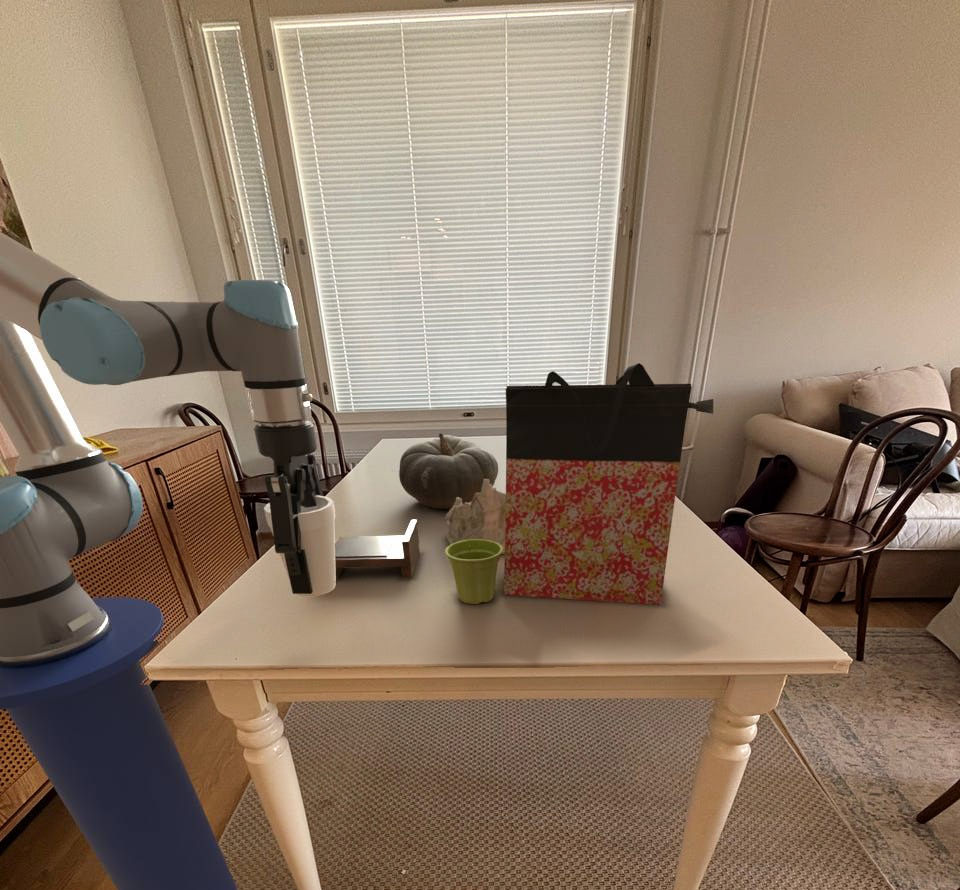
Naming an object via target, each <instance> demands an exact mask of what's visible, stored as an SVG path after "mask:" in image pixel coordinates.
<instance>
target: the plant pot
mask: <svg viewBox="0 0 960 890" xmlns="http://www.w3.org/2000/svg"><path fill="white" fill-rule="evenodd" d="M502 551H503V548H502V546H501V545H500V544H499V543H496V542H494V541H490V540H483V539H471V540H464V541H459V542H456V543H453V544H449V545H448V546H447V547H446V548H445V551H444V553H445V556H446V557H447V558H448V561H449V564H450V565H451V568H452V573H453V574H452V575H453V578H454V582H455V587H456V592H457V593H456V594H457V597H458V598H459V600H460V602H463V603H465V604H471V605H478V604H480V603H488V602H490V601H492V600H493V599H494V597H495V591H496V581H497V574H498V573H497V572H498V565H499V561H500V556H501V555H502V554H501V553H502Z"/></svg>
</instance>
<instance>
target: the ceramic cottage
mask: <svg viewBox="0 0 960 890" xmlns="http://www.w3.org/2000/svg"><path fill="white" fill-rule="evenodd" d="M505 517H506V492H501V491H499V490H497V487H494V485H493V486H492V484H490V480H489V479H484V480H483V485H482V489H481V492H479V493H475V495H474V497H473V500H472V502H470V503H467V502H465V503H464V505H463V503H462V499H461V498H459V497H457V498H456V502H455V503H454V505H453V506H452V508H451V509H448V512H447V513H446V515H445V520H447V525H448V533H447V537H446V540H447V542H448V544H449V545H451V544H453V543H456V542H459V541H464V540H471V539H483V540H490V541H494V542H496V543H499V544H500V545H501V546H502V548H503V551H502V553H501V554H500V555H505Z"/></svg>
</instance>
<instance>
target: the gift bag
mask: <svg viewBox="0 0 960 890" xmlns="http://www.w3.org/2000/svg"><path fill="white" fill-rule="evenodd" d="M650 376H651V375H649V373H648V372H647V370H646V368H645V367H644V365H643V364H641V363H640V362H638V363H635V364H633V365H630V366H628V367H627V368H626V370H625V371H624V372H623V374H622V376H620V377H619V378H618V380H617V381H616V383H615V384H569V383H568V382H567V381H566V380H565V379H564V378H563V377H562V376H561V375H560V374H558V373H557V372H555V371H550V372H548V374H547V376H546V380H545V383H544V385H506V387H505V415H506V416H505V418H506V419H505V420H506V422H505V423H506V424H505V426H506V428H505V429H506V433H505V436H506V437H505V439H506V440H505V494H506V517H505V554H504V567H503V568H504V569H503V571H504V573H503V596H514V597H515V596H516V597H527V598H528V597H531V598H544V599H545V598H546V599H558V600H559V599H561V600H574V601H575V600H576V601H577V600H578V601H592V602H607V603H623V604H640V605H654V606H655V605H656V606H661V605H662V598H663V591H664V585H665V584H664V583H665V575H666V569H667V568H666V566H667V560H668V552H669V545H670V544H669V543H670V537H671V529H672V523H673V515H674V508H675V502H676V494H677V487H678V480H679V473H680V466H681V460H682V459H681V458H682V451H683V444H684V437H685V430H686V423H687V418H688V412H689V409H692V410H695V411H696V412H699V413H706V414H713V415H714V398H712V399H711V398H709V399H705V400H699V401H696V402H690V400H691V395H692V388H693V386H692V383H655V382H654V381H653V380H652V378H651V377H650ZM555 383H556V384H555ZM557 384H558V385H557Z"/></svg>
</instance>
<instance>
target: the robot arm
mask: <svg viewBox="0 0 960 890" xmlns="http://www.w3.org/2000/svg"><path fill="white" fill-rule="evenodd" d="M290 291H291V290H290V289H289V287H288V286H287V285H286V284H285V283H284V282H282V281H279V280H268V279H236V280H227V281H226V282H225V283H224V284H223V296H224V297H223V300H222V301H215V302H214V301H213V302H209V301H144V300H120V299H116V298H114V297H112V296H110V295H108V294H106V293H105V292H103V291H101V290H100V289H98V288H96V287H94V286H92V285H91V284H89V283H87V282H86V281H83V280H82V279H81V278H79V277H77V276H76V275H74V274H72V273H71V272H69V271H68V270H66V269H64V268H62V267H61V266H58V265H57V264H56V263H54V262H52V261H50V260H49V259H47V258H45V257H43V256H42V255H40V254H39V253H37V252H36V251H33V250H32V249H30V248H28V247H27V246H25V245H24V244H22V243H20V242H18V241H17V240H15V239H13V238H11V237H10V236H8V235H7V234H5V233H4V232H1V231H0V424H1V425H2V427H3V429H4V431H5V433H6V434H7V436H8V438H9V440H10V441H11V443H12V445H13V447H14V449H15V450H16V452H17V454H18V458H17V461H16V462H15V465H14V467H13V471H14V473H15V474H16V475H5V476H4V475H3V476H0V666H1V667H7V668H25V667H33V666H39V665H44V664H48V663H52V662H56V661H59V660H62V659H65V658H68V657H71V656H73V655H76V654H78V653H80V652H82V651H85V650H87V649H88V648H90V647H92V646H94V645H95V644H97V643H98V642H100V641H101V640H102V639H104V638H105V637H106V636H107V635H108V633H109V632H110V630H111V626H112V625H111V622H110V620H109V618H108V616H107V613H106V612H105V611H104V610H103V609H102V608H101V607H99V606H97V605H96V604H95V603H94V601H93V600H92V598H91V596H90V595H89V594H88V593H87V591H85V590H84V588H83V587H82V586H81V585H80V584H79V582H78V580H77V579H76V577H75V574H74V572H73V571H72V568H71V566H70V563H69V560H72V559H74V558H76V557H78V556H80V555H83V554H85V553H87V552H89V551H91V550H94V549H96V548H98V547H100V546H103V545H104V544H107V543H109V542H115V541H117V540H119V539H120V538H122V537H123V536H124V535H125V534H128V533H130V532H131V531H133V530H134V529H135V528H136V527H137V526H138V525H139V523H140V519H141V518H142V516H143V509H144V505H143V503H144V502H143V498H142V493H141V491H140V490H141V489H139V486H138V484H137V481H135V479H134V478H133V476H131V474H130V473H129V471H128V472H127V471H124V468H123V467H122V466H121V465H119V464H117V463H114V462H111V461H108V460H107V457H106V456H105V454H104V452H103V450H102V449H101V448H99V447H97V446H96V445H95V446H94V445H93V444H91V443H89V442H88V441H86V440H85V438H84V437H83V434H82V432H81V430H80V428H79V426H78V424H77V423H76V420H75V418H74V415H73V414H72V413H71V410H70V408H69V406H68V404H67V402H66V400H65V399H64V396H63V395H62V392H61V391H60V389H59V386H58V385H57V383H56V380H55V378H54V377H53V375H52V373H51V371H50V368H49V366H48V365H47V363H46V360H45V358H44V357H43V355H42V353H41V350H40V349H39V346H38V344H37V342H36V341H35V339H34V337H36V338H38V339H40V340H41V341H42V344H43V347H44V348H45V350H46V352H47V354H48V355H49V358H51V360H52V361H54V362H56V364H57V366H59V367H60V369H61V371H62V372H63V373H64V374H65V375H66V376H68V377H70V378H71V379H73V380H75V381H77V382H79V383H82V384H84V385H91V386H98V385H108V386H121V385H125V384H129V383H132V382H133V383H134V382H138V381H145V380H150V379H151V380H152V379H156V378H164V377H172V376H180V375H187V374H195V373H201V372H202V373H203V372H241V377H242V380H243V385H244V390H245V395H246V400H247V404H248V410H249V415H250V420H252V421H253V422H255V423H256V424H255V426H254V427H253V431H254V434H255V440H256V444H257V449H258V453H259V454H260V455H261V456H263V457H265V458H269V459H271V460H272V461H273V475H266V476H265V478H264V483H265V487H266V490H267V494H268V503H270V510H271V519H272V527H273V534H272V536H274V537H273V543H274V550H275V554H280V553H284V556H285V560H286V565H287V569H288V574H289V577H288V579H290V580H289V582H290V588H291V591H292V594H293V595H294V594H295V595H297V594H312V592H313V590H312V585H311V580H310V574H309V569H308V564H307V559H306V554H305V549H301V531H300V526H299V521H298V516H296V517H295V518H294V519H293V514H298V513H301V506H303V507H306V508H308V507H314V506H317V505H316V498H315V496H316V495H319V496H324V493H323V488H322V485H321V480H320V476H319V474H318V470H317V468H318V467H317V460H316V456H315V454H314V452H316V451H317V449H318V444H317V438H316V431H315V425H314V423H313V422H312V421H310V420H309V419H310V418H311V417H312V410H311V405H310V402H312V401H313V395H312V394H311V393H308V385H307V381H306V376H305V375H306V374H305V369H304V361H303V356H302V350H301V349H302V348H301V343H300V335H299V322H298V321H297V317H296V312H295V308H294V304H293V298H292V294H291V292H290ZM33 336H34V337H33Z"/></svg>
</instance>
